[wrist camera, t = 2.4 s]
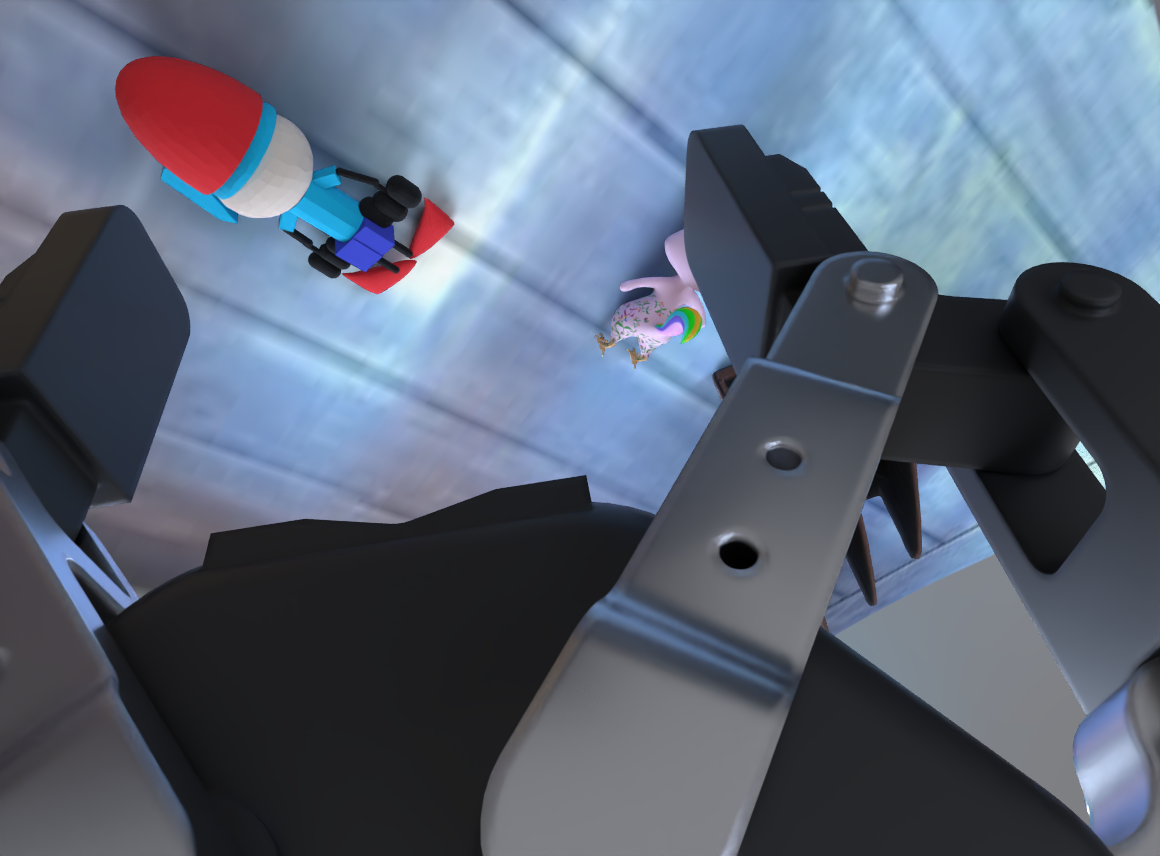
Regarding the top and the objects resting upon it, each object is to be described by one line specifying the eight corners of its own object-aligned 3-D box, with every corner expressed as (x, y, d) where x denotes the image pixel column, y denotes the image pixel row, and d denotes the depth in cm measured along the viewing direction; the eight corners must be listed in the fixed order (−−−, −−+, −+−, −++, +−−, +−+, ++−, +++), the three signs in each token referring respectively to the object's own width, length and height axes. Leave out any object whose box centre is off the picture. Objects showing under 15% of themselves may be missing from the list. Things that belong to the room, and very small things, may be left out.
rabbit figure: (651, 343, 48) (830, 175, 38) (662, 415, 45) (862, 250, 35) (572, 307, 45) (744, 115, 35) (577, 382, 42) (769, 192, 32)
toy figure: (461, 192, 39) (174, -26, 28) (471, 256, 36) (159, 43, 25) (370, 272, 42) (82, 104, 31) (373, 337, 39) (60, 178, 29)
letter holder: (766, 522, 63) (827, 678, 53) (708, 370, 49) (778, 544, 39) (881, 482, 61) (967, 636, 51) (856, 312, 47) (967, 480, 37)
